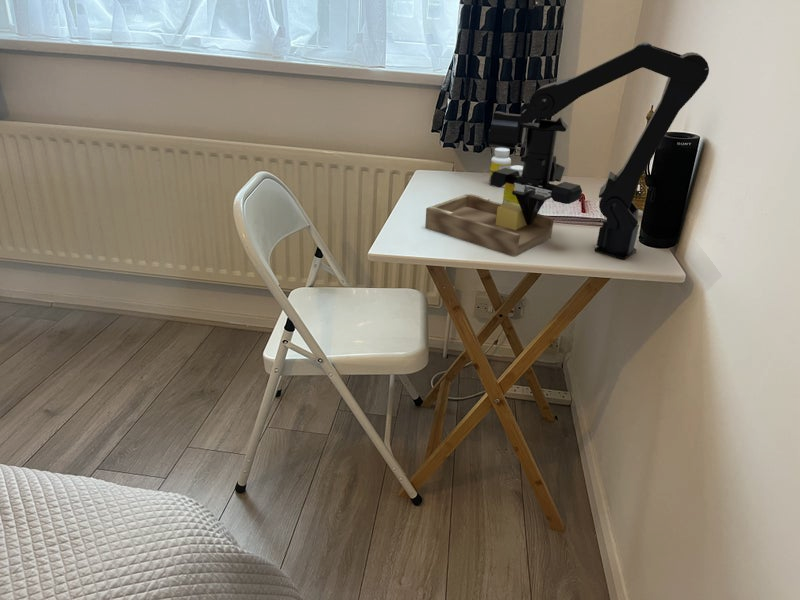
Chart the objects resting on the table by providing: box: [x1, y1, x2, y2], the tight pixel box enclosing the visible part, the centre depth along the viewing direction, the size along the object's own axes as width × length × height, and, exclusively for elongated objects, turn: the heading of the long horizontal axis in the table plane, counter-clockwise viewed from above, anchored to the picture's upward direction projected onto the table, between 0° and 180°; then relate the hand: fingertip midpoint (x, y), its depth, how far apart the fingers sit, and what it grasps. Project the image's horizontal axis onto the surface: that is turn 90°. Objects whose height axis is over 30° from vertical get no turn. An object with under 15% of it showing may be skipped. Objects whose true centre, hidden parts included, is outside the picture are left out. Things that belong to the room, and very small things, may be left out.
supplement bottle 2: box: [502, 164, 523, 204], centre depth 146 cm, size 6×6×10 cm
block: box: [496, 202, 527, 230], centre depth 131 cm, size 5×5×4 cm
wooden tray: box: [424, 193, 555, 257], centre depth 132 cm, size 23×15×5 cm, turn 49°
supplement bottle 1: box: [488, 147, 512, 188], centre depth 165 cm, size 5×5×10 cm
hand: (529, 224), depth 129 cm, fingers closed
